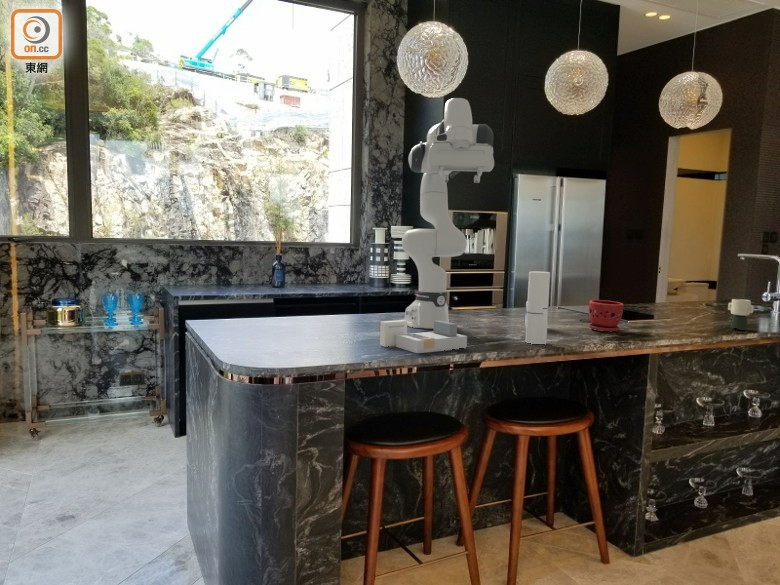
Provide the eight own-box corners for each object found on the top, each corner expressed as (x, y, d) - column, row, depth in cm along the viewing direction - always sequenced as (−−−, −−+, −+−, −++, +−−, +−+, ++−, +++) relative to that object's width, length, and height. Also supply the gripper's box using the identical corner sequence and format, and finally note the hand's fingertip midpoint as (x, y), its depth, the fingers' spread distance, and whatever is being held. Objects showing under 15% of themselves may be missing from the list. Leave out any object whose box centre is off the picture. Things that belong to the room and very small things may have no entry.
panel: (384, 346, 195) (385, 322, 195) (379, 345, 198) (380, 321, 197) (406, 344, 200) (407, 321, 199) (401, 343, 203) (402, 319, 202)
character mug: (756, 331, 253) (759, 301, 251) (745, 332, 250) (748, 301, 248) (731, 327, 262) (734, 298, 261) (721, 328, 259) (723, 298, 258)
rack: (395, 346, 196) (396, 322, 195) (443, 342, 207) (444, 319, 206) (417, 353, 186) (418, 328, 185) (466, 348, 197) (468, 324, 196)
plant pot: (588, 332, 238) (590, 302, 237) (586, 327, 251) (588, 299, 250) (623, 334, 235) (625, 304, 234) (619, 329, 248) (621, 300, 247)
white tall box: (550, 344, 209) (554, 272, 206) (535, 345, 205) (539, 272, 203) (536, 340, 215) (539, 271, 213) (520, 342, 212) (524, 271, 209)
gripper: (490, 149, 189) (493, 187, 184) (426, 148, 188) (427, 186, 183) (494, 137, 183) (498, 176, 178) (428, 136, 182) (429, 175, 177)
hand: (461, 181), depth 180 cm, fingers open, 8 cm apart
